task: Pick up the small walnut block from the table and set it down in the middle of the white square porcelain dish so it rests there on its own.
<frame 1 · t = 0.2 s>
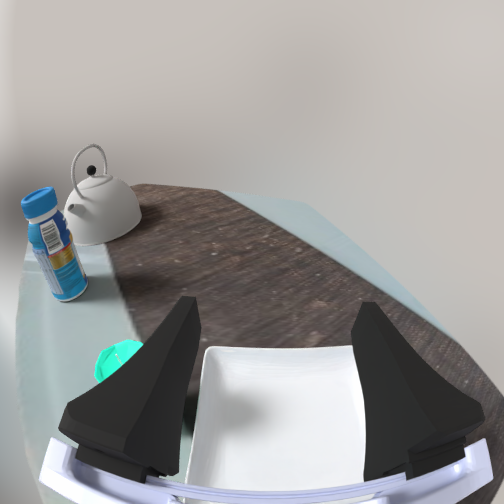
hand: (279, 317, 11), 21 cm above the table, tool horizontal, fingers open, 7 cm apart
salad plate: (293, 435, 25), on the table
beverage bottle: (71, 289, 44), on the table
kettle: (102, 227, 66), on the table
candle: (155, 412, 26), on the table
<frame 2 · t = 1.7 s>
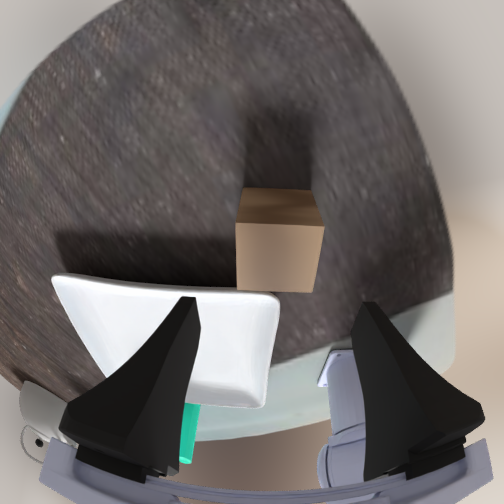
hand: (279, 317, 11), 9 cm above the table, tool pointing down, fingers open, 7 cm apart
salad plate: (174, 337, 28), on the table
walnut block: (275, 218, 19), on the table
kettle: (57, 402, 56), on the table
candle: (182, 398, 37), on the table
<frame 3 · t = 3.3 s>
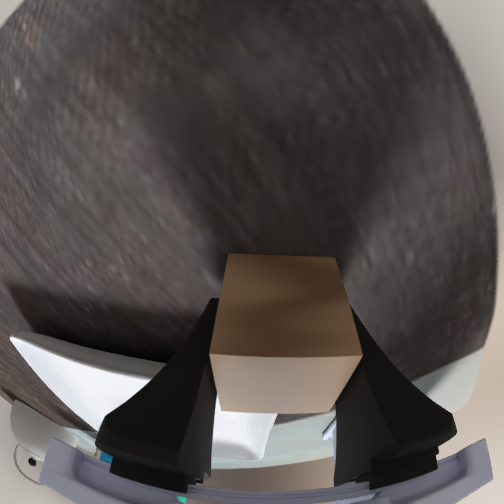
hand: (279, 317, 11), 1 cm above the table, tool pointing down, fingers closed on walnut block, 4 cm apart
salad plate: (157, 396, 22), on the table
walnut block: (278, 294, 13), on the table, touching gripper
beverage bottle: (114, 446, 45), on the table
kettle: (48, 421, 49), on the table
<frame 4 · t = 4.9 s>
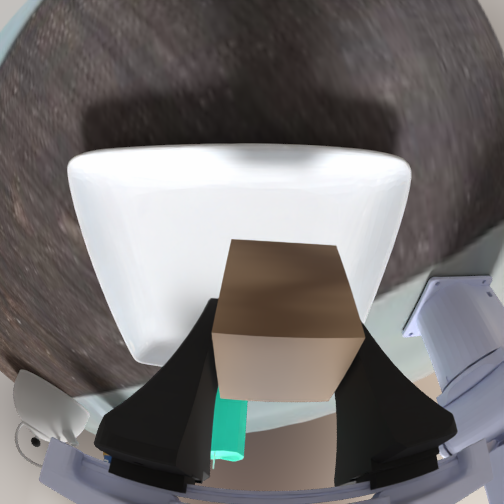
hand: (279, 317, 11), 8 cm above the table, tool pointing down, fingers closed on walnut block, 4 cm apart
salad plate: (235, 268, 22), on the table
walnut block: (279, 282, 13), point 7 cm above the table, touching gripper
kettle: (56, 395, 49), on the table
candle: (224, 374, 30), on the table
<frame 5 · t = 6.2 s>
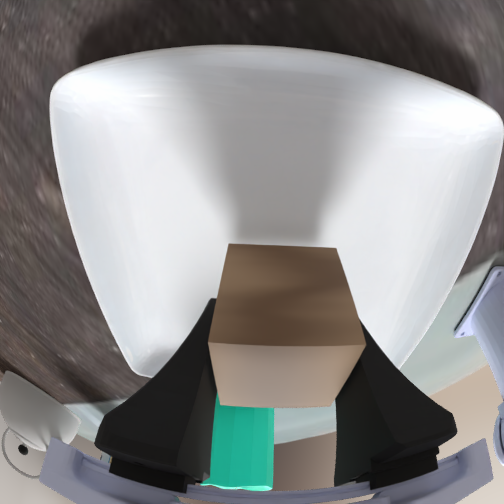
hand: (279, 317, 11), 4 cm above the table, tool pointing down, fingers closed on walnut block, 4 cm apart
salad plate: (276, 249, 16), on the table
walnut block: (279, 286, 13), point 3 cm above the table, touching gripper
kettle: (45, 399, 43), on the table
candle: (243, 387, 24), on the table
when the fingers open (4 cm above the table, at t = 6.8 s): walnut block stays where it is, resting on salad plate.
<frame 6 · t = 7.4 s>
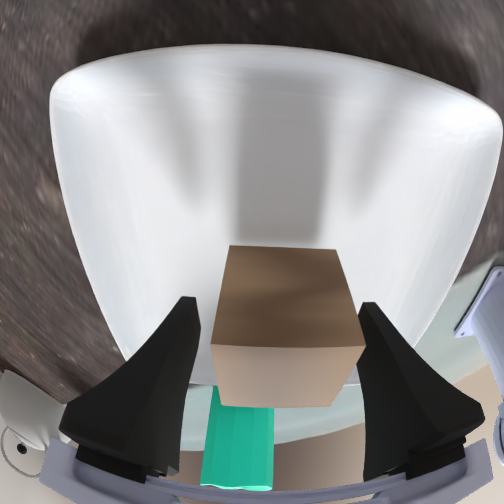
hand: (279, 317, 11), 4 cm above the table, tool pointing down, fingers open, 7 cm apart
salad plate: (276, 248, 16), on the table, touching walnut block
walnut block: (279, 287, 13), point 3 cm above the table, touching salad plate
kettle: (43, 398, 42), on the table
candle: (243, 387, 24), on the table
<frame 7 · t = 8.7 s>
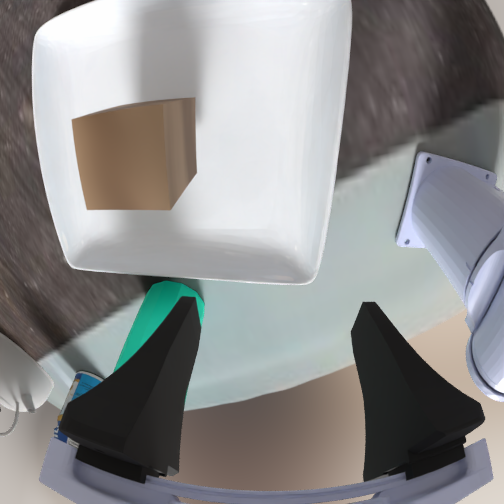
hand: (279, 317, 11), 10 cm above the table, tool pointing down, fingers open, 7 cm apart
salad plate: (176, 128, 17), on the table, touching walnut block
walnut block: (158, 137, 14), point 3 cm above the table, touching salad plate
beverage bottle: (96, 381, 40), on the table
kettle: (21, 360, 44), on the table
candle: (175, 302, 26), on the table
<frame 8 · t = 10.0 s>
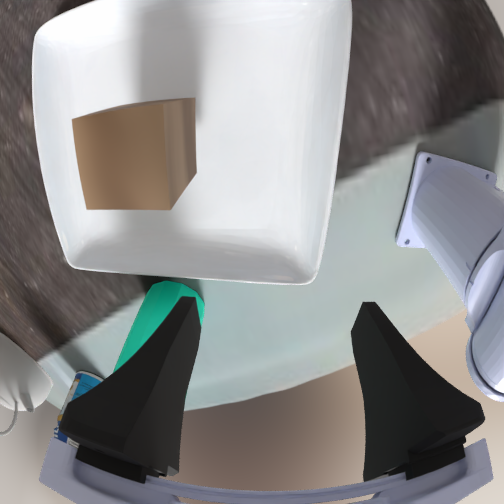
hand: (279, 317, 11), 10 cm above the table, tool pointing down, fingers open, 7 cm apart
salad plate: (176, 128, 17), on the table, touching walnut block
walnut block: (158, 137, 14), point 3 cm above the table, touching salad plate
beverage bottle: (96, 381, 40), on the table
kettle: (20, 359, 44), on the table
candle: (175, 302, 26), on the table
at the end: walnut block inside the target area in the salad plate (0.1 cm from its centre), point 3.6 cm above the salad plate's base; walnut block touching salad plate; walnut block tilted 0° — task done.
